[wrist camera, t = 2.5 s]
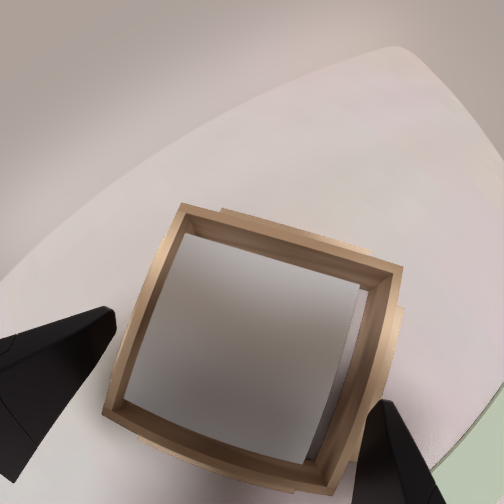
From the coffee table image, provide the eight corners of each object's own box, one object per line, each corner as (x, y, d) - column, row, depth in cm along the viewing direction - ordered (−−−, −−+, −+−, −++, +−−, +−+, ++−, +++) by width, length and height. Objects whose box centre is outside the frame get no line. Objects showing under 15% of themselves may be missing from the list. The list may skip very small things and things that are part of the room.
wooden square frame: (337, 499, 13) (352, 528, 9) (100, 416, 15) (65, 425, 12) (409, 265, 18) (438, 243, 14) (182, 199, 20) (165, 166, 16)
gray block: (283, 405, 15) (302, 464, 6) (202, 378, 16) (123, 398, 7) (310, 325, 17) (360, 284, 8) (229, 300, 18) (185, 233, 8)
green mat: (419, 567, 9) (421, 570, 8) (364, 522, 12) (366, 525, 11) (534, 448, 11) (537, 449, 11) (503, 382, 14) (506, 382, 14)
